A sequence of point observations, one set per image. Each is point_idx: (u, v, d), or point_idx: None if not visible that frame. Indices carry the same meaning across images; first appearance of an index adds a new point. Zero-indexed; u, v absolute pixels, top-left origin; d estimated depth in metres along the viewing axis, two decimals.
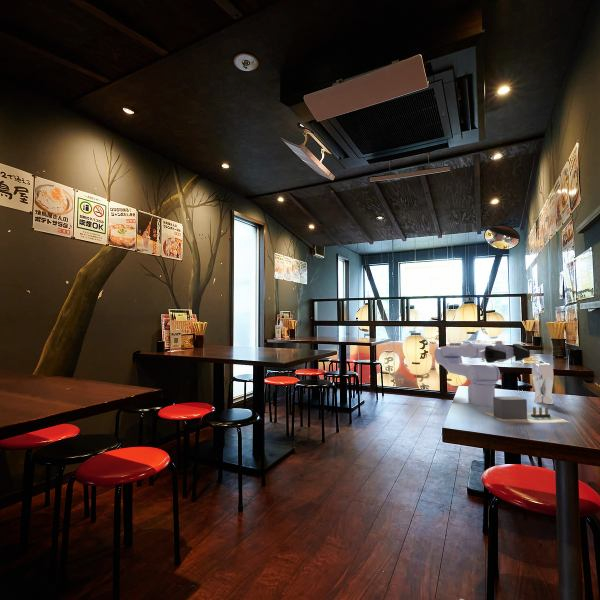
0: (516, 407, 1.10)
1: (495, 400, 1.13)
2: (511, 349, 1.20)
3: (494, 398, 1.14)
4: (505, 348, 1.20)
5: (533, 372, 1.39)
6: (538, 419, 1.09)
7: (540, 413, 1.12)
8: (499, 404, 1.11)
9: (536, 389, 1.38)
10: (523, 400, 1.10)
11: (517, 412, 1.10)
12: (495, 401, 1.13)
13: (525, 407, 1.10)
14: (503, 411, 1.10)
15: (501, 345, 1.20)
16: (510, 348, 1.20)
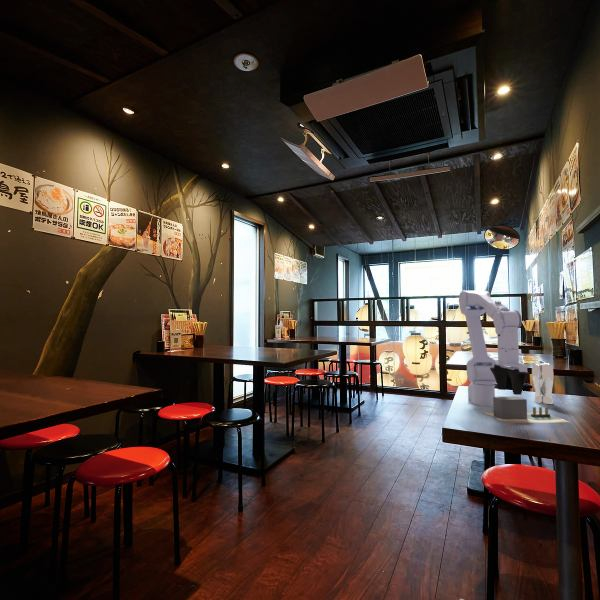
0: (516, 407, 1.10)
1: (495, 400, 1.13)
2: (513, 366, 1.09)
3: (494, 398, 1.14)
4: None
5: (533, 372, 1.39)
6: (538, 419, 1.09)
7: (540, 413, 1.12)
8: (499, 404, 1.11)
9: (536, 389, 1.38)
10: (523, 400, 1.10)
11: (517, 412, 1.10)
12: (495, 401, 1.13)
13: (525, 407, 1.10)
14: (503, 411, 1.10)
15: (502, 365, 1.12)
16: (512, 366, 1.09)
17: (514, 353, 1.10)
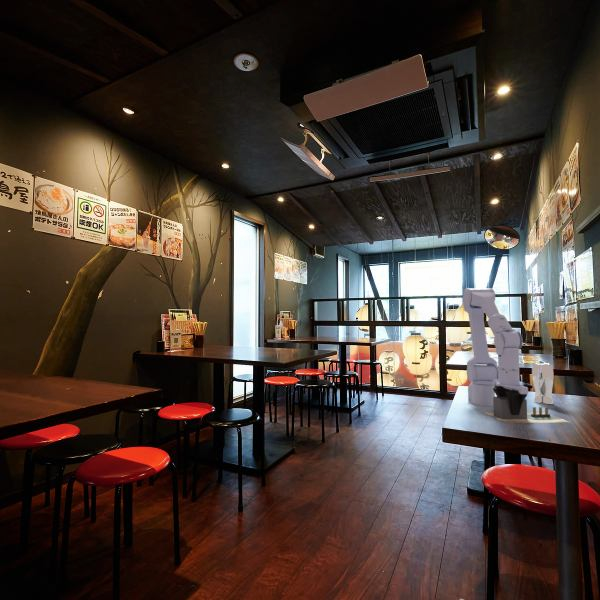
0: None
1: (495, 400, 1.13)
2: None
3: (494, 398, 1.14)
4: None
5: (533, 372, 1.39)
6: (538, 419, 1.09)
7: (540, 413, 1.12)
8: (499, 404, 1.11)
9: (536, 389, 1.38)
10: None
11: None
12: (495, 401, 1.13)
13: (525, 407, 1.10)
14: (503, 411, 1.10)
15: None
16: (512, 388, 1.09)
17: (515, 374, 1.10)
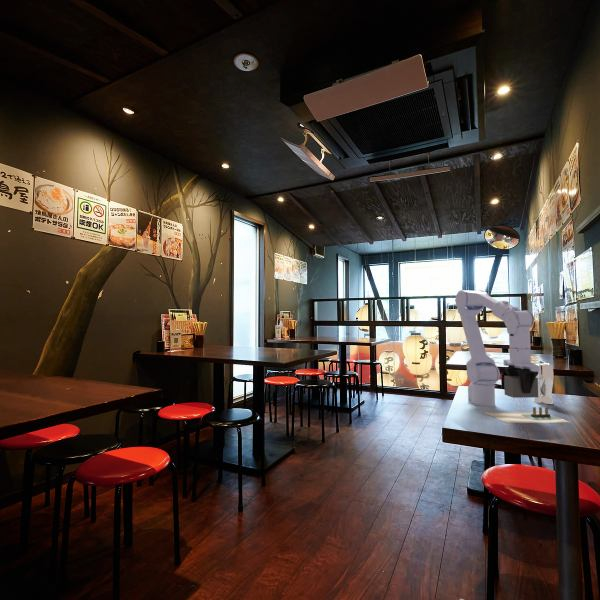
0: None
1: (506, 379, 1.14)
2: (525, 366, 1.09)
3: (505, 377, 1.14)
4: None
5: None
6: (538, 419, 1.09)
7: (540, 413, 1.12)
8: (511, 382, 1.11)
9: None
10: None
11: None
12: (506, 380, 1.14)
13: (536, 385, 1.11)
14: (514, 389, 1.10)
15: (513, 364, 1.12)
16: (524, 366, 1.09)
17: (526, 353, 1.10)
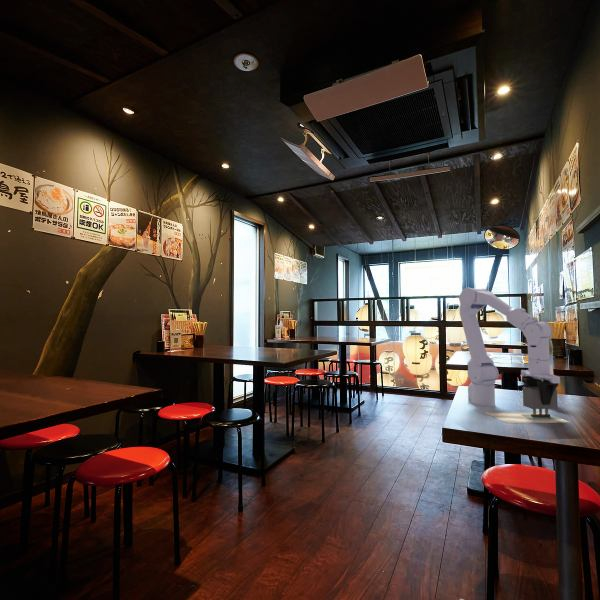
0: None
1: (525, 390, 1.14)
2: (545, 377, 1.09)
3: (524, 388, 1.14)
4: None
5: None
6: (538, 419, 1.09)
7: (540, 413, 1.12)
8: (530, 394, 1.11)
9: None
10: None
11: None
12: (525, 391, 1.14)
13: (555, 397, 1.11)
14: (534, 401, 1.10)
15: (533, 376, 1.12)
16: (543, 377, 1.10)
17: (545, 364, 1.11)
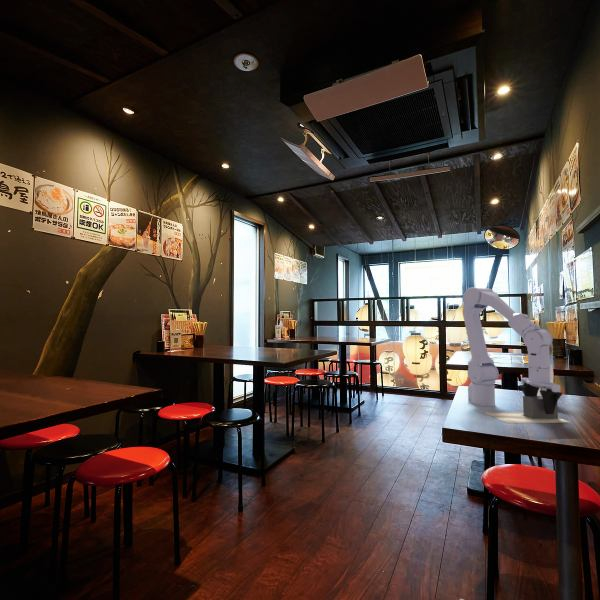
0: None
1: (525, 399, 1.14)
2: None
3: (524, 397, 1.14)
4: None
5: None
6: (538, 419, 1.09)
7: None
8: (530, 403, 1.11)
9: None
10: None
11: None
12: (525, 400, 1.14)
13: (556, 406, 1.11)
14: (534, 410, 1.10)
15: (533, 384, 1.12)
16: (544, 386, 1.09)
17: (546, 373, 1.10)
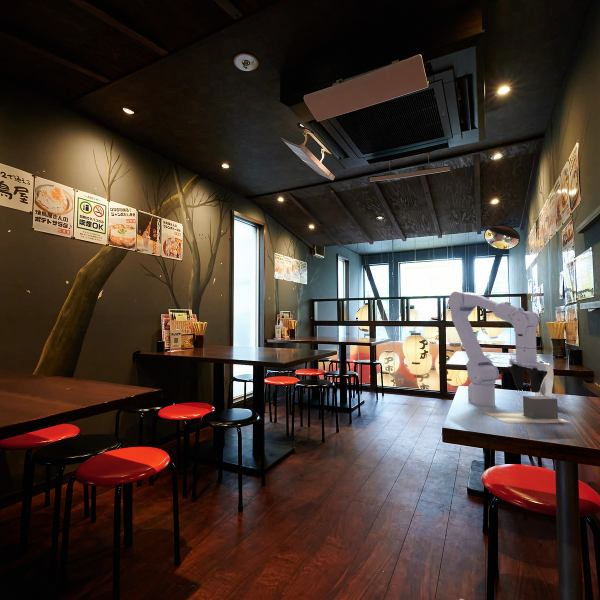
0: (547, 406, 1.11)
1: (525, 399, 1.14)
2: None
3: (524, 397, 1.14)
4: None
5: None
6: (538, 419, 1.09)
7: None
8: (530, 403, 1.11)
9: None
10: (554, 399, 1.11)
11: (548, 412, 1.10)
12: (525, 400, 1.14)
13: (556, 406, 1.11)
14: (534, 410, 1.10)
15: (520, 364, 1.16)
16: (530, 365, 1.13)
17: (532, 352, 1.14)
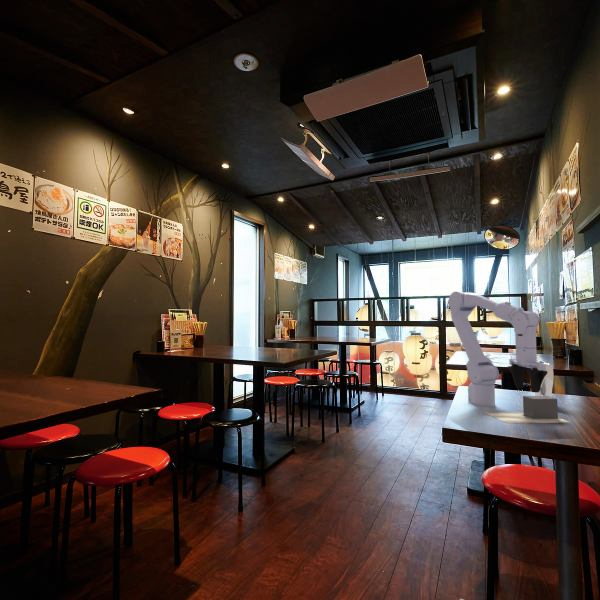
0: (547, 406, 1.11)
1: (525, 399, 1.14)
2: None
3: (524, 397, 1.14)
4: None
5: None
6: (538, 419, 1.09)
7: None
8: (530, 403, 1.11)
9: None
10: (554, 399, 1.11)
11: (548, 412, 1.10)
12: (525, 400, 1.14)
13: (556, 406, 1.11)
14: (534, 410, 1.10)
15: (520, 364, 1.16)
16: (530, 365, 1.13)
17: (532, 352, 1.14)
